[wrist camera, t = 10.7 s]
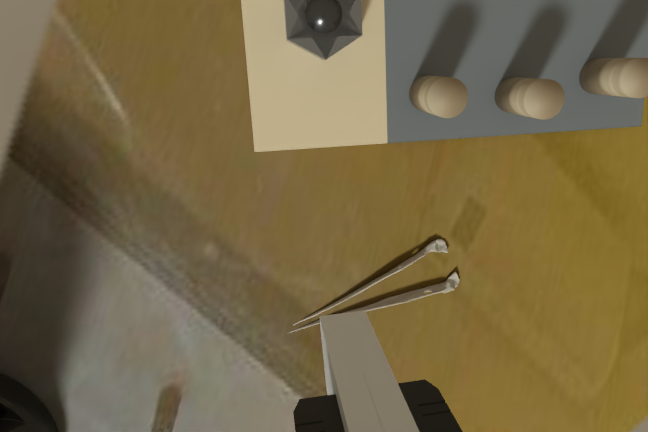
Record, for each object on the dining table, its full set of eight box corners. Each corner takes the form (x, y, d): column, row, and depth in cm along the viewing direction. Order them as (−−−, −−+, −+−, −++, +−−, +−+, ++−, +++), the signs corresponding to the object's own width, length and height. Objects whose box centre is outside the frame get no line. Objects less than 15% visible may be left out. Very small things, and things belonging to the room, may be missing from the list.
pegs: (409, 118, 41) (428, 127, 36) (406, -83, 38) (428, -106, 32) (609, 106, 42) (657, 112, 37) (626, -92, 39) (681, -116, 33)
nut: (287, 61, 40) (288, 61, 37) (281, -26, 38) (282, -33, 35) (356, 58, 40) (363, 57, 37) (353, -29, 38) (360, -37, 35)
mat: (254, 150, 42) (254, 151, 41) (234, -85, 37) (233, -87, 37) (636, 125, 44) (641, 126, 43) (658, -102, 39) (664, -104, 39)
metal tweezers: (440, 232, 45) (446, 240, 43) (459, 280, 47) (465, 291, 45) (248, 310, 47) (245, 321, 45) (271, 354, 48) (270, 367, 47)
